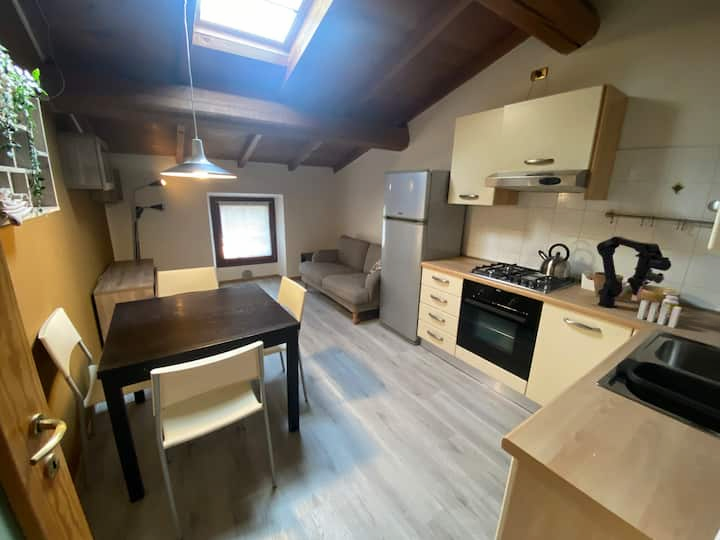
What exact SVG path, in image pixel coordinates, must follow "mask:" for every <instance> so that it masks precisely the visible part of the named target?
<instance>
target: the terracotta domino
mask: <svg viewBox="0 0 720 540" xmlns="http://www.w3.org/2000/svg"><path fill="white" fill-rule="evenodd" d="M642 287H643V286H641V287H640V289H639V291H638V293H637V295H633V294H632V295H631V301H633V302H634V301H635V302H637V301H640V298H641V296H642V295H641V293H642V291H643V289H642Z"/></svg>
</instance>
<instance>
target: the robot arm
mask: <svg viewBox="0 0 720 540" xmlns="http://www.w3.org/2000/svg"><path fill="white" fill-rule="evenodd" d="M620 245H621V246H624V247H626V248H630V249H633V250H635V252H637V254H635V255H634V257H635V258H638V260H637V264H636V267H634V270H635V271H634V274H633V275H632V276H630V277H629V278H627V280H626V282H627V283H628V284H629V285H630V288H631V290H632V295H637V293H638V291H639V289H640V287H641V286H643V287H642V290H644V288H645V286H646V285H648V284H650V283H651V282H654V283H655V284H657V285H658V284H661V283H662V282H663V280H665V276H664V273H662V272H659V273H656V272H653V269H654V270H658V271H663V272H666V271H668V270H670V268H671V267H672V262H671V261H670V257H667V256H666V257H665V256H663V253H662V251H661V249H660V247H659V244H657V243H655V242H653V243H652V242H641V241H636V240H634V239H629V238H626V237H624V236H612V237H611V238H608V239H606V240H603V241H602V242H601V241H600V242H599V243H598V244H597V246H596V251H597V253H598V254H599V256H600V257H601V260H602V266H603V272H605V279H606V281H605V282H604V284H603V289H601V290H599V291H598V295H601V296H600V298H599V300H598V303H597V305H598V304H599V305H598V306H601V305H602V307H605V308H609V309H610V308H613V307H615V305H616V301H617V300H616V298H619V296H620V295H621V294H622V293H623V290H624V287H623V283H622V282H623V281H622V282H618V281H617V279H616V269H615V268H616V267H615V261H614V254H615V253H616V249H617V248H619V247H620Z"/></svg>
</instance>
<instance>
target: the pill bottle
mask: <svg viewBox="0 0 720 540" xmlns="http://www.w3.org/2000/svg"><path fill="white" fill-rule="evenodd" d="M678 300H679V297H678V296H676V295H668V294H666V296H665V298H664V299H663V300H662V302H661V304H660V305H661V306H660V310H659V312H660V311H661V308H662V305H664V304H668V305H670V308H669V311H668V315H667V317H669V318H670V317H671V314H672V311H673V308H674V307H676V306H677V307H679V305H680V303H679V301H678Z"/></svg>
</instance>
